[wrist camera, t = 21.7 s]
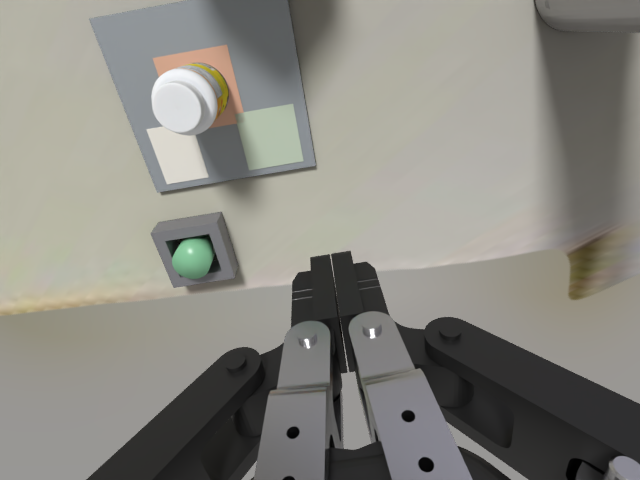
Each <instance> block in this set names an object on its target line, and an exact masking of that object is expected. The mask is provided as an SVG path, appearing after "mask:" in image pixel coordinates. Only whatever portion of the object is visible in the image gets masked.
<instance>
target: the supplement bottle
mask: <svg viewBox="0 0 640 480" xmlns="http://www.w3.org/2000/svg"><path fill="white" fill-rule="evenodd" d="M151 100H152V109H153V112H154V115H155V117H156V119H157V120H158V121H159V123H160V124H161V125H162V126H163V127H165V128H166V129H168V130H170V131H172V132H175V133H178V134H181V135H189V136H191V135H197V134H200V133H202V132H204V131H205V130H207V129H208V128H209V127H210V126H211V125H212V124H213V123H214V122H215V120H216V119H217V118H218V117H219V116H220V115H221V114H222V112H223V111H224V110H225V108H226V106H227V104H228V101H229V88H228V84H227V82H226V80H225V78H224V77H223V75H222V74H221V73H220V72H219V71H218V70H217V69H216V68H214V67H213V66H211V65H209V64H206V63H200V62H196V63H190V64H187V65H184V66H181V67H178V68H175V69H172V70H169V71H167V72H165V73H163V74H162V75H161V76H160V77H159V78H158V79H157V80H156V82H155V84H154V86H153V89H152V95H151Z"/></svg>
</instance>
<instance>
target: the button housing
mask: <svg viewBox="0 0 640 480" xmlns="http://www.w3.org/2000/svg"><path fill="white" fill-rule="evenodd" d="M206 234H209V235H210V237H211V240H212V243H213V246H214V249H215V252H216V255H217V258H218V260H215V261H212V263H211V266H210V269H209V271H208V273H207V274H206V275H205V276H203V277H201V278H198V279H189V278H185V277H183V276H181V275H180V274H178V273H177V272H176V271H175V269H174V267H173V265H172V258H173V255H174V254H175V252H176V250H177V248H178V246H179V245H178V243H177V240H176V239H182V238H188V237H194V236H200V235H206ZM151 236H152V238H153V240H154V243H155V245H156V247H157V250H158V252H159V255H160V257H161V259H162V262H163V264H164V266H165V269H166V271H167V273H168V276H169V278H170V280H171V283H172V285H173V287H174V288H176V287H182V286H188V285H195V284H201V283H207V282H214V281H220V280H226V279H232V278H235V276H236V272H237V268H238V263H237V260H236V257H235V253H234V250H233V247H232V244H231V241H230V237H229V234H228V231H227V228H226V225H225V222H224V218H223V215H222V212H217V213H211V214H205V215H199V216H193V217H187V218H181V219H175V220H169V221H163V222H159V223H158V224H157V225H156V227H155V228H154V229H153V231H152V232H151Z"/></svg>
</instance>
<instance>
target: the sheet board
mask: <svg viewBox="0 0 640 480" xmlns="http://www.w3.org/2000/svg"><path fill="white" fill-rule="evenodd" d="M89 20H90V23H91V25H92V28H93V30H94V33H95V36H96V38H97V41H98V43H99V46H100V48H101V51H102V53H103V56H104V58H105V61H106V64H107V66H108V69H109V71H110V74H111V76H112V79H113V81H114V84H115V86H116V89H117V92H118V94H119V97H120V99H121V102H122V104H123V107H124V109H125V112H126V114H127V117H128V119H129V122H130V125H131V127H132V130H133V132H134V135H135V137H136V140H137V142H138V145H139V147H140V150H141V153H142V155H143V158H144V160H145V163H146V165H147V168H148V170H149V173H150V175H151V178H152V180H153V183H154V186H155V188H156V191H157V192H163V191H169V190H175V189H181V188H187V187H193V186H199V185H204V184H210V183H216V182H222V181H228V180H234V179H240V178H246V177H252V176H258V175H264V174H270V173H276V172H281V171H287V170H293V169H299V168H305V167H311V166H316V163H315V157H314V151H313V145H312V139H311V134H310V128H309V122H308V116H307V110H306V104H305V98H304V92H303V86H302V81H301V75H300V69H299V63H298V57H297V51H296V45H295V39H294V34H293V28H292V22H291V16H290V10H289V4H288V0H187V1H181V2H176V3H171V4H165V5H160V6H155V7H149V8H144V9H139V10H133V11H128V12H122V13H117V14H112V15H106V16H101V17H96V18H90V19H89ZM196 62H200V63H206V64H209V65H211V66H213V67H214V68H216V69H217V70H218V71H219V72H220V73H221V74H222V75H223V77H224V78H225V80H226V82H227V84H228V88H229V101H228V104H227V106H226V108H225V110H224V111H223V112H222V114H221V115H220V116H219V117H218V118H217V119H216V120H215V122H214V123H213V124H212V125H211V126H210V127H209V128H208V129H207V130H205V131H204V132H202V133H200V134H197V135H191V136H189V135H181V134H178V133H175V132H172V131H170V130H168V129H166V128H165V127H163V126H162V125H161V124H160V123H159V121H158V120H157V119H156V117H155V115H154V112H153V109H152V100H151V95H152V89H153V86H154V84H155V82H156V80H157V79H158V78H159V77H160V76H161V75H162V74H163V73H165V72H167V71H169V70H172V69H175V68H178V67H181V66H184V65H187V64H190V63H196Z"/></svg>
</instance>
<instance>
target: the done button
mask: <svg viewBox="0 0 640 480" xmlns="http://www.w3.org/2000/svg"><path fill="white" fill-rule="evenodd" d="M215 253H216V252H215V249H214V246H213V243H212V240H211V237H210V236H209V235H207V234H206V235H200V236H194V237H188V238H183V239H182V241H181V243H180V245H179V246H178V248H177V250H176V252H175V254H174V255H173V258H172V265H173V267H174V269H175V271H176V272H177V273H178V274H180V275H181V276H183V277H185V278H189V279H198V278H201V277H203V276H205V275H206V274H207V273H208V271H209V269H210V266H211V263H212V261H213V258H214V255H215Z"/></svg>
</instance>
